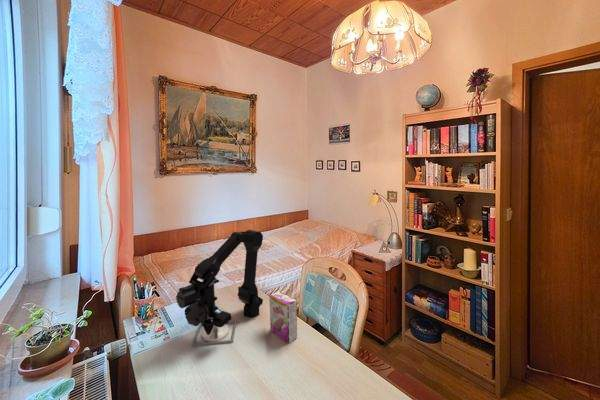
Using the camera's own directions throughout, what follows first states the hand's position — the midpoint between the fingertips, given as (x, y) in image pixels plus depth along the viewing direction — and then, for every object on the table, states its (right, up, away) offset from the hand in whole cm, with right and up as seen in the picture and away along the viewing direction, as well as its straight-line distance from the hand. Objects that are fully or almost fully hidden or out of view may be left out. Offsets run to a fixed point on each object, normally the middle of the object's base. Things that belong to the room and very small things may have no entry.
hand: (208, 334), depth 102 cm
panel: (+1, -3, +4) cm, 5 cm away
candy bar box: (+29, -3, +5) cm, 29 cm away
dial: (+1, -2, +4) cm, 5 cm away
